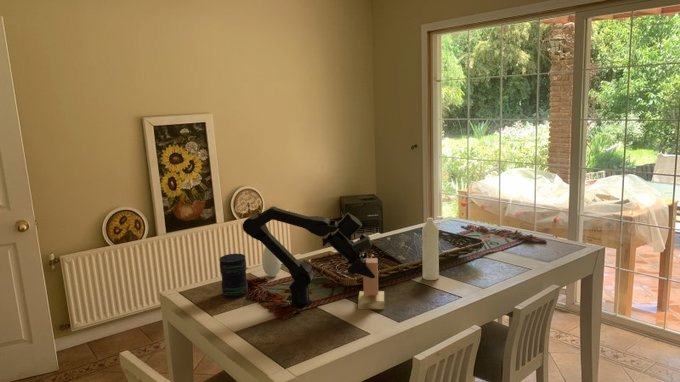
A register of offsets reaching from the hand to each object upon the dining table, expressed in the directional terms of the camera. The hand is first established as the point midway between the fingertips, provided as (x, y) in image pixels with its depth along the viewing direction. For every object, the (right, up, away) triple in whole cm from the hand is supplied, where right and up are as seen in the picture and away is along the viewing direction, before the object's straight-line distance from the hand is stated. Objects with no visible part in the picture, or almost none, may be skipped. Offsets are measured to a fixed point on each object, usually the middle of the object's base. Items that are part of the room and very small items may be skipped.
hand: (374, 274), depth 179 cm
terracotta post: (-1, -7, +1) cm, 7 cm away
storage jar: (-53, -10, +16) cm, 56 cm away
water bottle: (+26, -5, +26) cm, 37 cm away
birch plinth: (-1, -11, +2) cm, 11 cm away
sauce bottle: (-41, -7, +34) cm, 54 cm away
